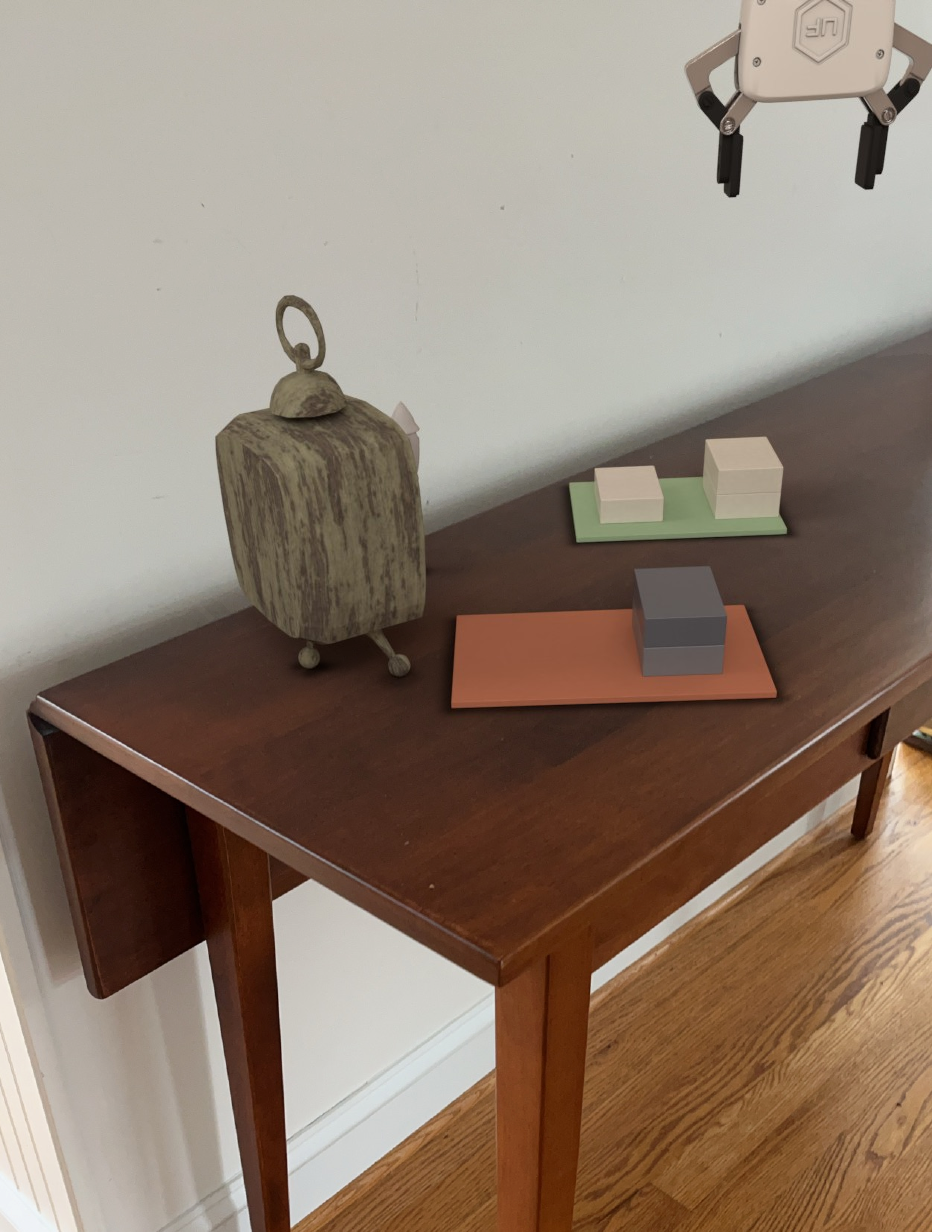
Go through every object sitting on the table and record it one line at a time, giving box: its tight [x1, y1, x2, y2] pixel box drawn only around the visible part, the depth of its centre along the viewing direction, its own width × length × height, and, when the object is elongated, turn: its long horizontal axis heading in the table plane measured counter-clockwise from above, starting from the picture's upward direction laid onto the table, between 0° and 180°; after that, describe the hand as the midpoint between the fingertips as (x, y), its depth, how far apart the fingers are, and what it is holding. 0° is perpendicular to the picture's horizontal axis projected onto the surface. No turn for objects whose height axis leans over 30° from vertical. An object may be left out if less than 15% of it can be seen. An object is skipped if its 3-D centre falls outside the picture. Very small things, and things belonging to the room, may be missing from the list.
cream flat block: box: [593, 465, 664, 524], centre depth 113 cm, size 6×8×2 cm, turn 178°
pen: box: [390, 400, 421, 482], centre depth 101 cm, size 2×3×14 cm
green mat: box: [568, 476, 788, 543], centre depth 113 cm, size 18×14×1 cm
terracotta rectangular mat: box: [450, 604, 778, 709], centre depth 90 cm, size 22×14×1 cm, turn 88°
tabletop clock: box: [214, 294, 427, 678], centre depth 85 cm, size 14×9×25 cm, turn 30°
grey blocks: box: [632, 565, 727, 677], centre depth 89 cm, size 6×8×4 cm, turn 178°
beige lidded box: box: [702, 436, 784, 520], centre depth 111 cm, size 6×8×4 cm, turn 178°
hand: (797, 190), depth 92 cm, fingers open, 9 cm apart
